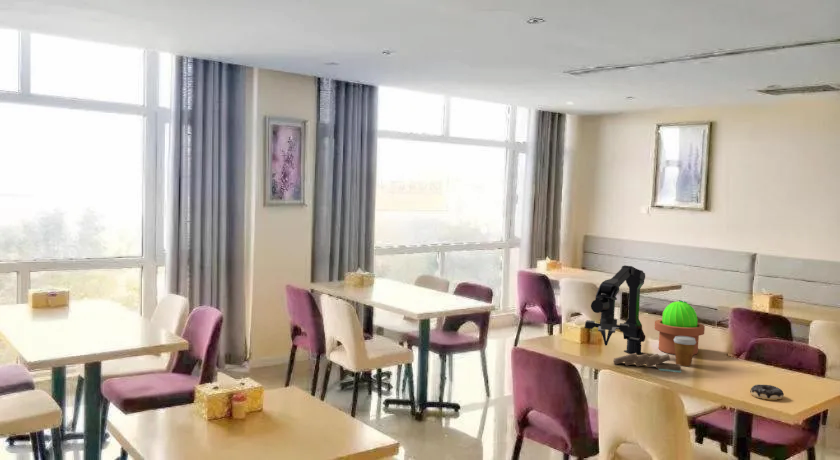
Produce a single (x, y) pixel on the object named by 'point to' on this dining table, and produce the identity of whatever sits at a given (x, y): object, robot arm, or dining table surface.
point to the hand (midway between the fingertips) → (605, 345)
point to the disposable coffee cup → (684, 350)
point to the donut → (767, 392)
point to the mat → (669, 370)
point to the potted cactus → (678, 326)
